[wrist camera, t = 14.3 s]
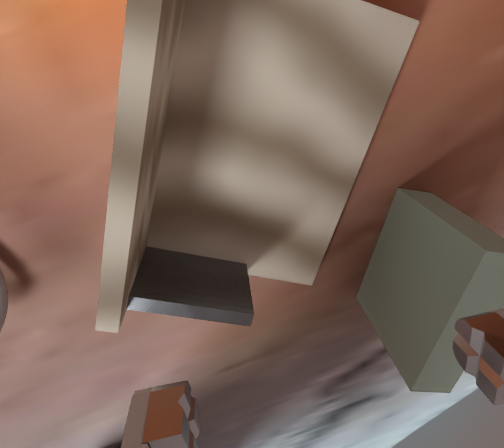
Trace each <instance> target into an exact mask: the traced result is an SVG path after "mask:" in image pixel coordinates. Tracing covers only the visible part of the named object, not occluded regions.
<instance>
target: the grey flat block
mask: <svg viewBox="0 0 504 448" xmlns="http://www.w3.org/2000/svg"><path fill="white" fill-rule="evenodd" d="M356 299H357V301H358V302H359V304H360V306H361V307H362V309H363V311H364V312H365V314H366V316H367V318H368V319H369V321H370V323H371V324H372V326H373V328H374V330H375V331H376V333H377V335H378V336H379V338H380V340H381V341H382V343H383V345H384V347H385V348H386V350H387V352H388V353H389V355H390V357H391V359H392V360H393V362H394V364H395V365H396V367H397V369H398V370H399V372H400V374H401V376H402V377H403V379H404V381H405V382H406V384H407V386H408V388H409V389H410V391H418V392H442V393H450V392H451V390H452V389H453V387H454V386H455V384H456V382H457V381H458V379H459V377H460V376H461V374H462V373H463V371H464V369H463V368H462V367H461V366H460V365H459V363H458V361H457V359H456V358H455V355H454V351H453V339H454V338H455V337H456V336H457V334H458V332H457V331H456V330H455V323H456V321H457V320H458V319H459V318H463V317H468V316H472V315H476V314H480V313H484V312H491V311H494V310H498V309H502V307H503V306H504V238H503V237H501V236H500V235H498V234H496V233H495V232H493V231H492V230H490V229H488V228H487V227H485V226H483V225H482V224H480V223H479V222H477V221H475V220H474V219H472V218H471V217H469V216H467V215H466V214H464V213H463V212H461V211H459V210H458V209H456V208H455V207H453V206H451V205H450V204H448V203H447V202H445V201H443V200H442V199H440V198H439V197H437V196H435V195H434V194H432V193H429V192H422V191H416V190H409V189H402V188H397V191H396V193H395V196H394V199H393V201H392V204H391V207H390V209H389V212H388V215H387V217H386V220H385V222H384V225H383V228H382V230H381V233H380V236H379V238H378V241H377V244H376V246H375V249H374V251H373V254H372V257H371V259H370V262H369V265H368V267H367V270H366V273H365V275H364V278H363V280H362V283H361V286H360V288H359V291H358V294H357V296H356Z"/></svg>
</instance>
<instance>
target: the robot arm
mask: <svg viewBox="0 0 504 448" xmlns="http://www.w3.org/2000/svg"><path fill="white" fill-rule="evenodd" d="M455 330H456V331H457V332H458V334H457V336H456V337H455V338H454V339H453V351H454V355H455V358H456V359H457V361H458V363H459V365H460V366H461V367H462V368H463V369H464V371H465V372H467V373H469V374H471V375H473V376H475V377H476V385H477V386H478V387H479V388H480V390H481V391H482V392H483V393H484V394H485V396H486V397H487V398H488V399H489V400H490V401H491V403H492V404H493V405H498V404H503V403H504V308H503V309H498V310H494V311H491V312H484V313H480V314H476V315H472V316H468V317H463V318H459V319H458V320H457V321H456V323H455ZM199 434H200V420H199V411H198V407H197V403H196V400H195V398H193V397H191V387H190V384H189V382H188V381H182V382H177V383H172V384H166V385H161V386H156V387H152V388H147V389H143V390H138V391H135V392H134V394H133V396H132V399H131V404H130V408H129V413H128V417H127V422H126V426H125V431H124V436H123V440H122V445H121V448H199V447H198V444H197V441H196V439H197V437H198V435H199Z"/></svg>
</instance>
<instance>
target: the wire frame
mask: <svg viewBox="0 0 504 448" xmlns="http://www.w3.org/2000/svg"><path fill="white" fill-rule="evenodd" d="M7 309H8V291H7V286H6V282H5V279H4V276H3V273H2V271H1V269H0V331H1V329H2V327H3V324H4V322H5V318H6V314H7Z"/></svg>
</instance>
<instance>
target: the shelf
mask: <svg viewBox="0 0 504 448" xmlns="http://www.w3.org/2000/svg"><path fill="white" fill-rule="evenodd" d="M419 22H420V21H418V20H415V19H412V18H410V17H407V16H404V15H401V14H399V13H396V12H393V11H390V10H387V9H385V8H382V7H379V6H376V5H373V4H371V3H368V2H365V1H362V0H127V8H126V18H125V29H124V39H123V50H122V60H121V70H120V81H119V91H118V101H117V112H116V122H115V132H114V143H113V153H112V163H111V174H110V184H109V194H108V205H107V215H106V226H105V236H104V246H103V257H102V267H101V277H100V288H99V298H98V308H97V319H96V329H95V330H97V331H105V332H113V333H118V332H119V329H120V326H121V324H122V321H123V318H124V315H125V312H126V309H128V310H136V311H143V312H150V313H157V314H165V315H172V316H179V317H186V318H194V319H201V320H208V321H215V322H223V323H230V324H237V325H244V326H250V325H251V322H252V319H253V316H254V311H253V304H252V297H251V291H250V284H249V277H248V275H252V276H258V277H264V278H270V279H276V280H282V281H288V282H294V283H299V284H305V285H311V286H312V284H313V282H314V279H315V277H316V274H317V272H318V269H319V267H320V264H321V262H322V260H323V257H324V255H325V252H326V250H327V247H328V245H329V242H330V240H331V238H332V235H333V233H334V230H335V228H336V225H337V223H338V220H339V218H340V215H341V213H342V211H343V208H344V206H345V203H346V201H347V198H348V196H349V193H350V191H351V188H352V186H353V184H354V181H355V179H356V176H357V174H358V171H359V169H360V166H361V164H362V162H363V159H364V157H365V154H366V152H367V149H368V147H369V144H370V142H371V139H372V137H373V135H374V132H375V130H376V127H377V125H378V122H379V120H380V117H381V115H382V113H383V110H384V108H385V105H386V103H387V100H388V98H389V95H390V93H391V90H392V88H393V86H394V83H395V81H396V78H397V76H398V73H399V71H400V68H401V66H402V64H403V61H404V59H405V56H406V54H407V51H408V49H409V46H410V44H411V41H412V39H413V37H414V34H415V32H416V29H417V27H418V24H419Z"/></svg>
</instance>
